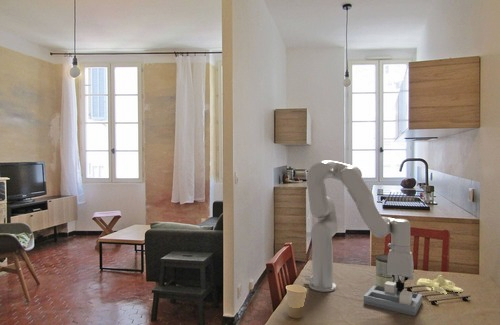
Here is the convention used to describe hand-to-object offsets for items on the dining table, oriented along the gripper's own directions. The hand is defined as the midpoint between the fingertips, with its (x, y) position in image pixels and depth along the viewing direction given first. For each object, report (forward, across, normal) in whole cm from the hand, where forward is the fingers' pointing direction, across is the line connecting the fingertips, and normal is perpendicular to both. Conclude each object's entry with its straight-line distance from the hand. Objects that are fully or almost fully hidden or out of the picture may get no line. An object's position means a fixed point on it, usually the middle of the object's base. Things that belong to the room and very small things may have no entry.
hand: (400, 290), depth 155 cm
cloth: (+5, +12, +26) cm, 30 cm away
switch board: (+4, -2, -4) cm, 6 cm away
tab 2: (+3, +4, -8) cm, 10 cm away
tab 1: (+3, -4, 0) cm, 5 cm away
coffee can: (+5, -9, +14) cm, 17 cm away
